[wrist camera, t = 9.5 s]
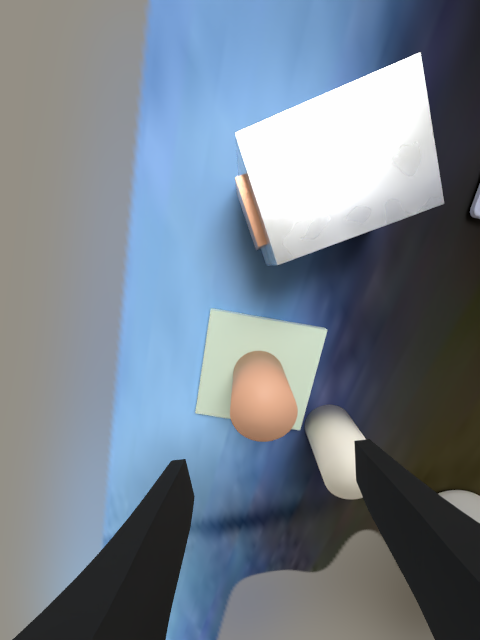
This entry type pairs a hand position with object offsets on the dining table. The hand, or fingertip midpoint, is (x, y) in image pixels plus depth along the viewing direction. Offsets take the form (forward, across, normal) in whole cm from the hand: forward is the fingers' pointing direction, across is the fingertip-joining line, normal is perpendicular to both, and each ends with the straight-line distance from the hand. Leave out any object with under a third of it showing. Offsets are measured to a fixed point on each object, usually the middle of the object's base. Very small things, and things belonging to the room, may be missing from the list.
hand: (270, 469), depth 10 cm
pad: (+10, 0, 0) cm, 10 cm away
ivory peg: (+10, -5, +6) cm, 13 cm away
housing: (+10, -5, -12) cm, 16 cm away
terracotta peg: (+9, 0, 0) cm, 9 cm away
